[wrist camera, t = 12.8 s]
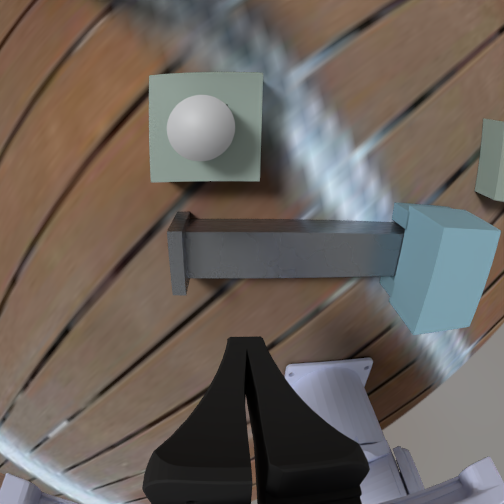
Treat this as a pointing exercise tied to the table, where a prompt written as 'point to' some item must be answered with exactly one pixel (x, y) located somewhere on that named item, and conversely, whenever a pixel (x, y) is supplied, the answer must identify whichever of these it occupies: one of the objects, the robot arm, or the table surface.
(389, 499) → the robot arm
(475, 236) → the block
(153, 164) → the green block white knob
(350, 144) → the table surface
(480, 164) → the green square holed block
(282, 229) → the rail
